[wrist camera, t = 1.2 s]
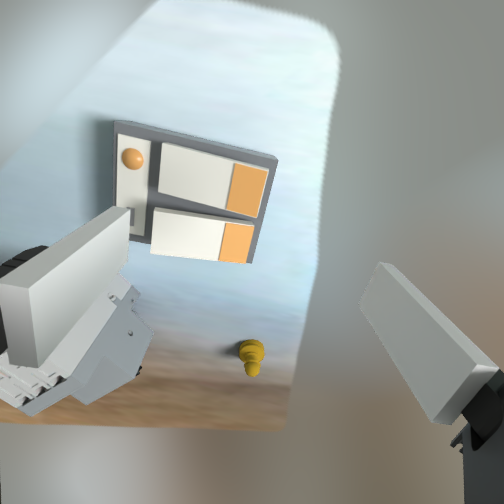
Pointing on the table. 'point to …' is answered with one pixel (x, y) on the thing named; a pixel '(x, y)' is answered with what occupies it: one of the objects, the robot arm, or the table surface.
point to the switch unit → (148, 170)
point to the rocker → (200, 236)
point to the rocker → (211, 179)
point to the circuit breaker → (84, 355)
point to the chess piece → (251, 356)
